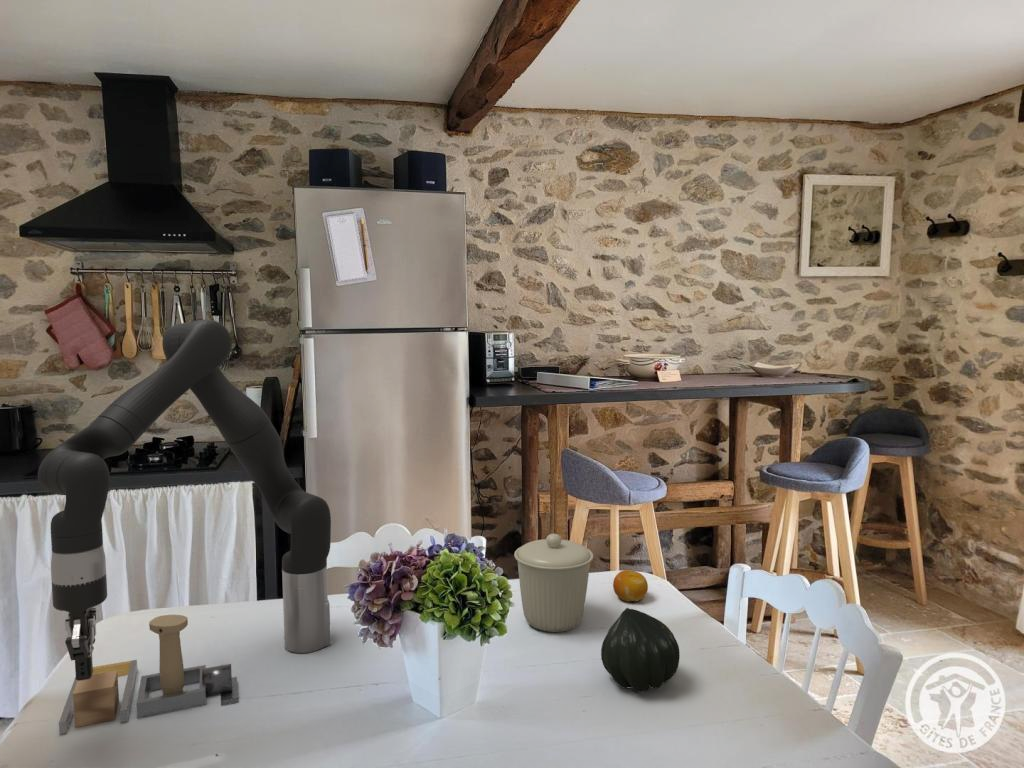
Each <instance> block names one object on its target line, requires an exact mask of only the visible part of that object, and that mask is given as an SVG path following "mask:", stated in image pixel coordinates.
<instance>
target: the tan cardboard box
mask: <svg viewBox="0 0 1024 768" xmlns="http://www.w3.org/2000/svg"><path fill="white" fill-rule="evenodd" d="M119 691H120V690H119V676H118V673H117V671H112V672H106V673H100V674H94V675H92V676H91V678H90V679H87V680H81V681H77V684H76V687H75V689H74V692H73V703H74V713H73V716H74V718H73V719H74V727H75V728H78V727H83V726H89V725H94V724H99V723H105V722H109V721H114V720H116V717H117V713H118V710H119V705H120V694H119Z"/></svg>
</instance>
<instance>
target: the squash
mask: <svg viewBox="0 0 1024 768" xmlns="http://www.w3.org/2000/svg"><path fill="white" fill-rule="evenodd" d="M601 644H602V645H601V650H600V655H601V662H602V666H603V667H604V669H605V670H606V672H607V673H608V674H609V676H611V677H612V679H613V681H615V683H616V684H617V685H618V686H620V687H621V688H623V687H624V689H628V688H627V687H631V689H632V690H633V691H634V692H635V693H636V692H637V693H644V692H646V691H647V690H648V687H650V688H651V689H659V688H661V686H663V683H666V682H669V681H670V680H671V679H672V678H673V677H674V676H675V674H676V673H677V671H678V668H679V664H680V657H681V656H680V646H679V643H678V642H677V639H676V637H675V635H674V633H673V632H672V631H671V629H670V628H669V627H668V626H667V625H666V624H665V623H663V622H662V621H661V620H660V619H658V618H655V617H653V616H652V615H650V614H647V613H645V612H643V611H640V610H637V609H635V608H629V607H626V608H625V609H624V610H623V611H622V612H621V613H620V615H619V616H618V617H617V619H616V620H615V621H614V622H613V623H612V625H610V627H609V629H608V631H607V634H606V636H604V639H603V641H602V643H601Z"/></svg>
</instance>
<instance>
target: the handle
mask: <svg viewBox="0 0 1024 768" xmlns="http://www.w3.org/2000/svg"><path fill="white" fill-rule="evenodd" d="M188 620H189V619H188V617H187V616H185V615H183V614H182V615H181V614H165V615H159V616H156V617H154V618H152V619H151V620H150V621H149V624H148V625H149V630H150V631H151V632H153V633H154V634H156V635H158V637H159V638H158V639H159V673H160V681H161V687H162V689H161V691H162V696H164V695H169V694H175V693H180V692H184V685H183V684H184V669H185V667H184V661H183V660H184V659H183V652H182V645H181V637H180V635H181V634H180V632H181V631H183V630H184V629H186V627H188V625H189V624H188V623H189V621H188Z"/></svg>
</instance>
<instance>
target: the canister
mask: <svg viewBox="0 0 1024 768" xmlns="http://www.w3.org/2000/svg"><path fill="white" fill-rule="evenodd" d="M514 558H515V560H516V561H517V570H518V579H519V589H520V598H521V605H522V611H523V616H524V619H525V621H526V622H527V623H528V624H529V625H530V626H531V627H532V628H535V629H537V630H539V631H543V632H549V633H551V632H552V633H555V632H557V633H559V632H566V631H570V630H572V629H574V628H576V627H577V626H578V625H579V623H581V621H582V618H583V615H584V613H585V611H584V610H585V605H586V597H587V591H588V590H587V589H588V581H589V573H590V565H591V562H592V561H593V560H594V554H593V552H592V551H591V549H589V548H587V547H586V546H584V545H582V544H580V543H578V542H575V541H573V540H568V539H562V537H561V536H560V535H559V534H558V533H550V534H548V535H547V536H546V538H544V539H543V538H541V539H536V540H533V541H529V542H527V543H525V544H523V545H522V546H520V547H518V548H517V549H516V550H515V551H514Z"/></svg>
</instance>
